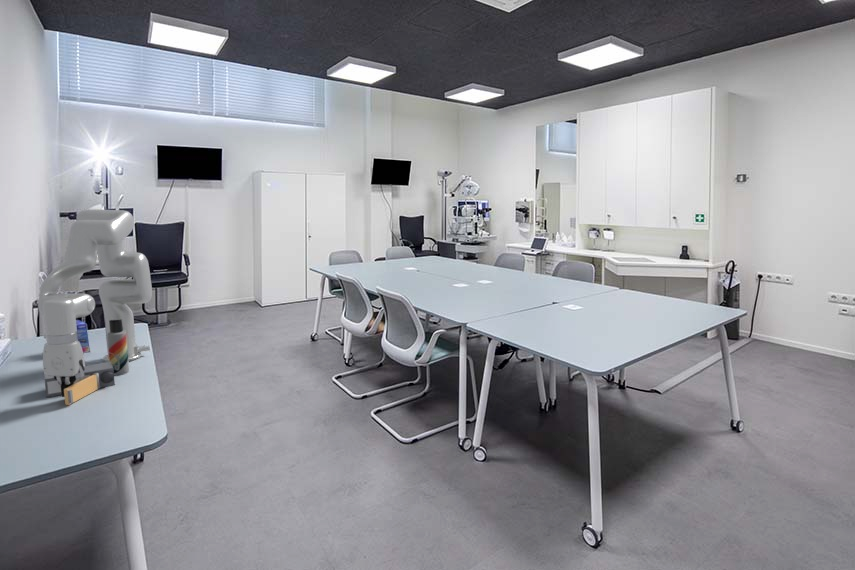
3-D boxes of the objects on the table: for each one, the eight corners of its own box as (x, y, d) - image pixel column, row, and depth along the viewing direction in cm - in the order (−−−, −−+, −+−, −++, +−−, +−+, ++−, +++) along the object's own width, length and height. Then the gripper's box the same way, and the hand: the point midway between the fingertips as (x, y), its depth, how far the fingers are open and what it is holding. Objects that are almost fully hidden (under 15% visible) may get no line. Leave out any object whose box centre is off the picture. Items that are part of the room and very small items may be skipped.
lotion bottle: (109, 376, 166) (104, 321, 163) (111, 371, 171) (107, 318, 168) (128, 374, 169) (124, 320, 165) (130, 369, 174) (125, 316, 170)
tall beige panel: (96, 387, 155) (95, 372, 154) (102, 387, 155) (101, 373, 154) (64, 404, 141) (62, 388, 140) (71, 405, 141) (69, 388, 140)
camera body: (111, 377, 165) (110, 359, 163) (115, 386, 157) (113, 366, 156) (46, 389, 153) (43, 369, 152) (46, 398, 146) (44, 378, 145)
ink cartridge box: (65, 350, 194) (62, 316, 191) (81, 347, 198) (78, 314, 196) (74, 355, 188) (71, 320, 186) (90, 351, 192) (87, 317, 190)
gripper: (27, 341, 139) (34, 399, 142) (76, 342, 139) (82, 401, 142) (48, 334, 146) (54, 389, 149) (95, 335, 146) (100, 391, 149)
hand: (68, 395), depth 146 cm, fingers closed
